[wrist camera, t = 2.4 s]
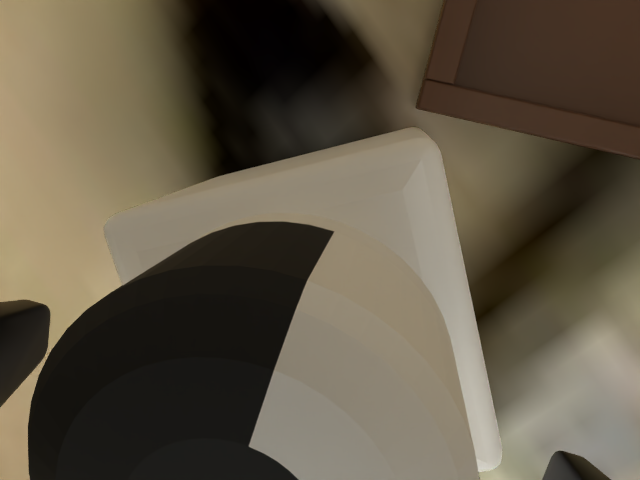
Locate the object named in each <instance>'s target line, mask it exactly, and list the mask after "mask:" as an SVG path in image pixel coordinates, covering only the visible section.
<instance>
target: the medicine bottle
mask: <svg viewBox="0 0 640 480" xmlns="http://www.w3.org/2000/svg"><path fill="white" fill-rule="evenodd" d="M104 235H105V238H106V241H107V244H108V247H109V250H110V252H111V255H112V258H113V261H114V264H115V267H116V270H117V273H118V275H119V278H120V281H121V284H122V286H121V287H119V288H118V289H116V290H115V291H113V292H111V293H110V294H108V295H107V296H106V297H104V298H103V299H101V300H100V301H98V302H97V303H96V304H94V305H93V306H91V307H90V308H88V309H87V310H86V311H85V312H84V313H83V314H82V315H81V316H80V317H79V318H78V319H77V320H76V321H75V322H74V323H73V324H72V325H71V326H70V327H69V328H68V329H67V330H66V331H65V332H64V334H63V335H62V337H61V338H60V339H59V341H58V342H57V344H56V345H55V346H54V348H53V349H52V350H51V352H50V354H49V356H48V358H47V360H46V362H45V364H44V366H43V368H42V370H41V372H40V374H39V377H38V380H37V384H36V387H35V391H34V394H33V397H32V401H31V408H30V415H29V423H28V457H29V475H30V480H480V477H479V472H482V471H489V470H492V469H495V468H497V467H498V466H499V464H500V463H501V460H502V451H503V449H502V444H501V439H500V434H499V429H498V425H497V420H496V415H495V410H494V405H493V401H492V396H491V391H490V386H489V381H488V376H487V372H486V367H485V362H484V357H483V352H482V348H481V343H480V338H479V333H478V328H477V323H476V319H475V314H474V309H473V304H472V299H471V294H470V290H469V285H468V280H467V275H466V270H465V266H464V261H463V256H462V251H461V246H460V241H459V237H458V232H457V227H456V222H455V217H454V213H453V208H452V203H451V198H450V193H449V188H448V184H447V179H446V174H445V169H444V164H443V160H442V155H441V151H440V149H439V147H438V145H437V144H436V142H435V141H434V140H432V139H431V138H430V137H429V136H428V135H427V134H426V133H425V132H424V131H423V130H421V129H420V128H418V127H409V128H405V129H401V130H398V131H394V132H390V133H386V134H382V135H378V136H374V137H370V138H366V139H362V140H358V141H355V142H351V143H347V144H343V145H339V146H335V147H331V148H327V149H323V150H319V151H315V152H312V153H308V154H304V155H300V156H296V157H292V158H288V159H284V160H280V161H276V162H273V163H269V164H265V165H261V166H257V167H253V168H249V169H245V170H241V171H237V172H233V173H230V174H226V175H222V176H218V177H215V178H213V179H210V180H207V181H204V182H201V183H199V184H196V185H193V186H190V187H187V188H185V189H182V190H179V191H176V192H174V193H171V194H168V195H165V196H162V197H160V198H157V199H154V200H151V201H149V202H146V203H143V204H140V205H137V206H135V207H132V208H129V209H126V210H123V211H121V212H118V213H116V214H114V215H112V216H111V217H109V219H108V220H107V221H106V223H105V225H104Z"/></svg>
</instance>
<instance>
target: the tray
mask: <svg viewBox="0 0 640 480" xmlns="http://www.w3.org/2000/svg"><path fill="white" fill-rule="evenodd" d="M416 108H417V109H420V110H425V111H429V112H433V113H438V114H442V115H446V116H451V117H455V118H460V119H464V120H468V121H473V122H477V123H481V124H486V125H490V126H495V127H499V128H503V129H508V130H512V131H517V132H521V133H525V134H530V135H534V136H538V137H543V138H547V139H552V140H556V141H560V142H565V143H569V144H573V145H578V146H582V147H587V148H591V149H595V150H600V151H604V152H609V153H613V154H617V155H622V156H626V157H630V158H635V159H639V160H640V0H444V1H443V5H442V8H441V12H440V16H439V20H438V24H437V27H436V31H435V35H434V39H433V43H432V47H431V50H430V54H429V58H428V62H427V66H426V69H425V73H424V77H423V81H422V85H421V88H420V92H419V96H418V100H417V104H416Z"/></svg>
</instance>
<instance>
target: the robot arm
mask: <svg viewBox="0 0 640 480" xmlns="http://www.w3.org/2000/svg"><path fill="white" fill-rule="evenodd" d="M49 326H50V310H49V308H48V307H47V306H46V305H44V304H41V303H37V302H34V301H30V300H17V301H8V302H0V407H1V406H2V405H3V404H4V403H5V401H6V400H7V399H8V398H9V397H10V396H11V395H12V394H13V392H14V391H15V390H16V389H17V388H18V387H19V386H20V385H21V383H22V382H23V381H24V380H25V379H26V378H27V377H28V376H29V374H30V373H31V372H32V371H33V370H34V369H35V368H36V367H37V365H38V364H39V363H40V362H41V361H42V359H43V358H44V356H45V354H46V351H47V348H48V338H49ZM542 480H611V479H609V478H608V477H607V476H606V475H605V474H603V473H602V472H601V471H600V470H598V469H597V468H596V467H595V466H594V465H592V464H591V463H590V462H589V461H588V460H586V459H585V458H583V457H581V456H578V455H575V454H571V453H568V452H564V451H557V452H555V453H554V454H553V456H552V457H551V460H550V462H549V464H548V467H547V469H546V472H545V474H544V477H543V479H542Z"/></svg>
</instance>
